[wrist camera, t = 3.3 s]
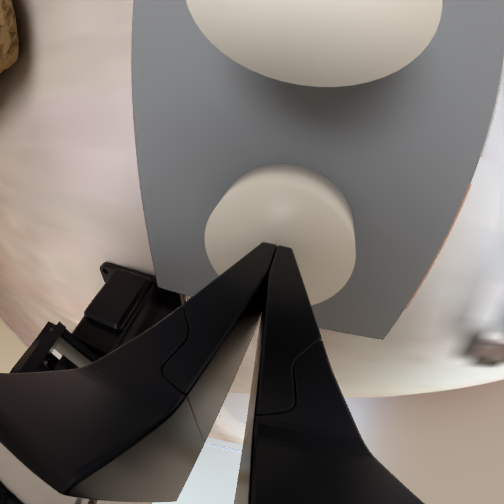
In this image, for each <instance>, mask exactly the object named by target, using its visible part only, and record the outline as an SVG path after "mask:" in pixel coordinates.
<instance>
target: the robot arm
mask: <svg viewBox="0 0 504 504" xmlns="http://www.w3.org/2000/svg"><path fill="white" fill-rule="evenodd" d="M100 271H101V273H102V276H103V279H104V282H105V284H104V286H103V287H102V288H101V290H100V291H99V292H98V294H97V295H96V296H95V298H94V299H93V300H92V302H91V303H90V304H89V306H88V307H87V308H86V310H85V311H84V317H83V318H82V320H81V321H80V323H79V324H78V325H77V327H76V328H75V330H74V331H73V333H72V334H71V333H70V332H69V331H68V330H67V329H66V327H65V326H64V325H63V324H62V323H61V322H59V323H58V324H57V325H55V324H53V323H51V322H49V321H48V323H47V324H46V326H45V327H44V328H43V330H42V331H41V333H40V334H39V335H38V337H37V338H36V339H35V341H34V342H33V343H32V345H31V346H30V347H29V348H28V350H27V351H26V352H25V353H24V355H23V356H22V357H21V358H20V359H19V361H18V362H17V363H16V365H15V366H14V367H13V368H12V370H11V372H10V373H0V504H152V502H173V501H176V500H177V499H178V497H179V494H180V493H181V491H182V488H183V487H184V485H185V483H186V481H187V479H188V476H189V475H190V472H191V471H192V469H193V466H194V464H195V462H196V460H197V458H198V456H199V454H200V452H201V450H202V448H203V446H204V443H205V441H206V439H207V437H208V435H209V433H210V431H211V429H212V426H213V424H214V422H215V420H216V418H217V416H218V414H219V411H220V409H221V407H222V405H223V403H224V400H225V398H226V396H227V394H228V391H229V389H230V387H231V385H232V383H233V380H234V378H235V376H236V374H237V371H238V369H239V367H240V364H241V362H242V360H243V358H244V355H245V353H246V351H247V348H248V346H249V344H250V341H251V339H252V337H253V334H254V332H255V330H256V327H257V325H258V322H259V320H260V317H261V320H260V327H259V335H258V342H257V350H256V357H255V365H254V372H253V380H252V387H251V394H250V401H249V408H248V415H247V422H246V429H245V436H244V442H243V449H242V456H241V462H240V469H239V475H238V482H237V488H236V494H235V500H234V504H424V503H423V502H422V501H421V500H420V499H419V498H418V497H416V496H415V495H414V494H413V493H412V492H411V491H410V490H409V489H407V488H406V487H405V486H404V485H403V484H402V483H401V482H400V481H399V480H398V479H397V478H396V477H395V476H394V475H393V474H391V473H390V472H389V471H388V470H387V469H386V468H385V467H384V466H383V465H382V464H381V463H380V462H379V461H378V460H377V459H376V458H375V457H374V456H373V455H372V453H371V452H370V451H369V449H368V448H367V446H366V445H365V443H364V441H363V439H362V438H361V435H360V433H359V431H358V429H357V426H356V424H355V422H354V420H353V417H352V415H351V413H350V411H349V408H348V406H347V404H346V401H345V399H344V397H343V395H342V393H341V390H340V388H339V386H338V383H337V381H336V378H335V376H334V373H333V371H332V368H331V365H330V362H329V359H328V356H327V354H326V350H325V347H324V344H323V341H322V340H321V339H322V338H321V335H320V331H319V328H318V325H317V322H316V319H315V316H314V313H313V309H312V306H311V303H310V300H309V297H308V294H307V291H306V288H305V285H304V282H303V279H302V276H301V273H300V270H299V267H298V264H297V261H296V259H295V256H294V253H293V250H292V248H290V247H285V246H281V245H279V246H276V245H275V244H272V243H267V242H262V243H261V244H259V245H258V246H257V247H255V248H254V249H253V250H252V251H250V252H249V253H248V254H246V255H245V256H244V257H243V258H241V259H240V260H239V261H237V262H236V263H235V264H234V265H232V266H231V267H230V268H228V269H227V270H226V271H225V272H223V273H222V274H221V275H220V276H218V277H217V278H216V279H214V280H213V281H212V282H211V283H209V284H208V285H207V286H205V287H204V288H203V289H202V290H200V291H199V292H198V293H196V294H195V295H194V296H193V297H191V298H190V299H189V300H187V301H186V302H185V303H184V297H183V294H180V293H177V292H173V291H170V290H167V289H163V288H160V287H158V284H157V280H156V277H152V276H149V275H146V274H142V273H139V272H136V271H132V270H129V269H126V268H122V267H119V266H116V265H113V264H110V263H106V262H104V263H103V264H102V265H101V266H100ZM54 349H55V350H56V351H57V352H58V353H60V354H61V355H62V357H61V358H60V359H58V358H57V357H56V356H55V355H54V354H52V352H53V350H54Z"/></svg>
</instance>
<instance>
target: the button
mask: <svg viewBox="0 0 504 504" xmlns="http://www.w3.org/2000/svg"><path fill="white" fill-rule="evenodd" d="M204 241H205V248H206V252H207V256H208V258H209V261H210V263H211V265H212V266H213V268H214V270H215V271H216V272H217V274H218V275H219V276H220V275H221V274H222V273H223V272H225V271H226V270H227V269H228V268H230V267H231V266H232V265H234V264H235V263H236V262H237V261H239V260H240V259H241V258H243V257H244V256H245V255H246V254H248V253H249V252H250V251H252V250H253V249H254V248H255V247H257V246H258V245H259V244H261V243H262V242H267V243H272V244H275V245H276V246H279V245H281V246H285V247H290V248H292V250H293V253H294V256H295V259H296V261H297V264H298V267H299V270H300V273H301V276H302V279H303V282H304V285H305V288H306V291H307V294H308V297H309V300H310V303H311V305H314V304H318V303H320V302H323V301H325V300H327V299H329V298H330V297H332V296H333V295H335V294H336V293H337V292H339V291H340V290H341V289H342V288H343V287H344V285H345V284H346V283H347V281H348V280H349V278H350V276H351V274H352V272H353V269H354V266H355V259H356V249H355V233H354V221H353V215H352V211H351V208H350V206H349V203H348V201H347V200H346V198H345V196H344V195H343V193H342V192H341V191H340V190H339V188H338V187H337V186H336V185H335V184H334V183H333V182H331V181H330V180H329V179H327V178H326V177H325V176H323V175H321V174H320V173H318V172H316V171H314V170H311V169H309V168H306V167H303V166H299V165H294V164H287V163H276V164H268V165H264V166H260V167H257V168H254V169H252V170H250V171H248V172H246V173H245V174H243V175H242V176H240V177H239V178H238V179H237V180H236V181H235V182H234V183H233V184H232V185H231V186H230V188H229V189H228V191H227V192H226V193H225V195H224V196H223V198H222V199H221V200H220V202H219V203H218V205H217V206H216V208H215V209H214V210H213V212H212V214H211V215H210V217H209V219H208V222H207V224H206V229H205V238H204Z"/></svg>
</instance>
